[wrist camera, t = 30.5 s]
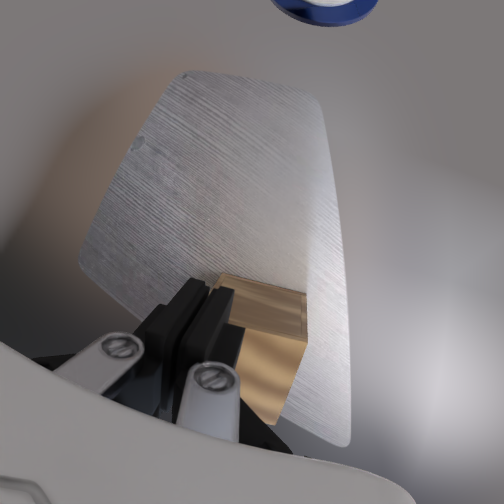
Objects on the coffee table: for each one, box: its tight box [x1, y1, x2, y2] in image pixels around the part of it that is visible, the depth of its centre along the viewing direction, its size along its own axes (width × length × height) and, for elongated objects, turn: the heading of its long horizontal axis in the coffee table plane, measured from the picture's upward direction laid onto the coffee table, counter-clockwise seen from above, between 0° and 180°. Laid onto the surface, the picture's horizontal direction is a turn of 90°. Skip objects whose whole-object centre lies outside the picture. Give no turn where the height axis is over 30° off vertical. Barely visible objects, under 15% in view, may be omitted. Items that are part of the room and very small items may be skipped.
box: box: [209, 273, 308, 339], centre depth 43 cm, size 14×13×12 cm
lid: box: [228, 320, 308, 425], centre depth 37 cm, size 14×13×1 cm
